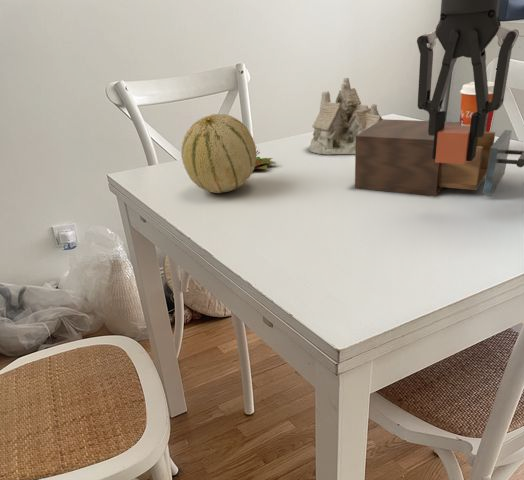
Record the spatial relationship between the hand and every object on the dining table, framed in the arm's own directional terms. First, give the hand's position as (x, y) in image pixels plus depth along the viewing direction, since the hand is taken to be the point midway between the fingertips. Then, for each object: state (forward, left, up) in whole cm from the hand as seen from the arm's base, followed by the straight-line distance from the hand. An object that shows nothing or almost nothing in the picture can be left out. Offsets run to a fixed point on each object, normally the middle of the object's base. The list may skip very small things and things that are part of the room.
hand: (453, 157), depth 85 cm
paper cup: (+5, -37, -10) cm, 39 cm away
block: (0, 0, 0) cm, 0 cm away
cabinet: (+12, -16, -10) cm, 22 cm away
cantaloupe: (+45, 0, -10) cm, 46 cm away
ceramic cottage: (+33, -36, -10) cm, 50 cm away
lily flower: (+48, -16, -10) cm, 52 cm away
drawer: (0, -16, -9) cm, 18 cm away
